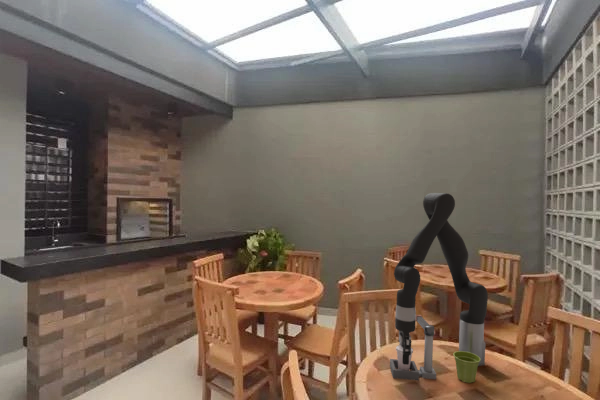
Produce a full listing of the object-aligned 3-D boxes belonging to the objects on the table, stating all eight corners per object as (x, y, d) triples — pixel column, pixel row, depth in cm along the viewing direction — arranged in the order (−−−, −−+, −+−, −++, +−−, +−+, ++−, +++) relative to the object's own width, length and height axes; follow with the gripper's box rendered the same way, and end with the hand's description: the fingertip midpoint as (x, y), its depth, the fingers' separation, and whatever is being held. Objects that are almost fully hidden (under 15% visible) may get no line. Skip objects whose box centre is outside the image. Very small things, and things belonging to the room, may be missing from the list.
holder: (431, 370, 138) (432, 330, 138) (437, 382, 129) (439, 340, 129) (389, 366, 140) (391, 327, 140) (392, 378, 131) (394, 336, 131)
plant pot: (453, 382, 129) (454, 359, 129) (451, 371, 138) (452, 349, 138) (481, 387, 126) (482, 364, 126) (477, 375, 135) (478, 353, 135)
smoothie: (413, 378, 131) (414, 341, 131) (395, 376, 133) (396, 339, 133) (411, 370, 138) (412, 335, 138) (394, 368, 139) (395, 333, 139)
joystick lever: (435, 336, 132) (435, 328, 132) (425, 335, 132) (426, 327, 132) (422, 321, 148) (422, 314, 148) (413, 320, 148) (413, 313, 148)
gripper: (419, 324, 127) (417, 369, 128) (411, 311, 142) (410, 352, 142) (398, 322, 128) (396, 367, 129) (393, 310, 143) (391, 351, 143)
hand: (404, 359), depth 135 cm, fingers closed on smoothie, 6 cm apart
